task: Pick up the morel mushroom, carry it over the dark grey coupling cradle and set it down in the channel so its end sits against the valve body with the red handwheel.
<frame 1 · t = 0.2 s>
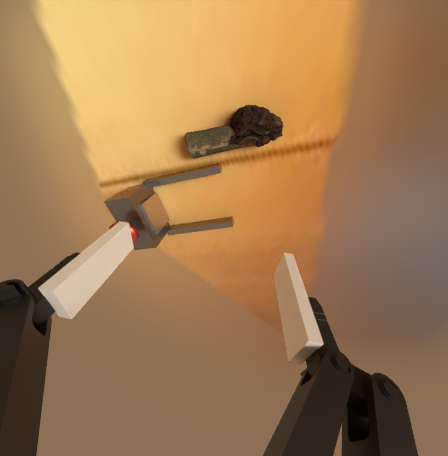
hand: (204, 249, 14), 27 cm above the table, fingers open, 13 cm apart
cradle: (193, 201, 42), on the table
morel mushroom: (233, 131, 34), on the table
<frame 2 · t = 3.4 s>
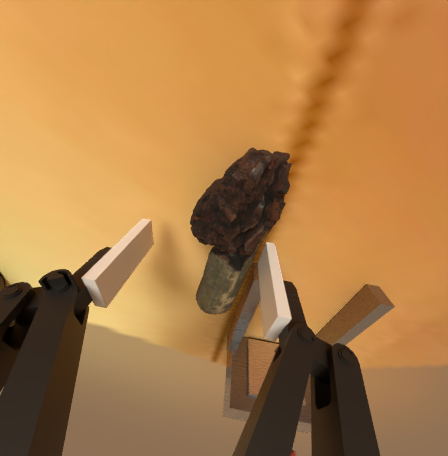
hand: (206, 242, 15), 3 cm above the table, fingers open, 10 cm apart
cradle: (288, 315, 25), on the table
morel mushroom: (228, 230, 18), on the table, touching gripper
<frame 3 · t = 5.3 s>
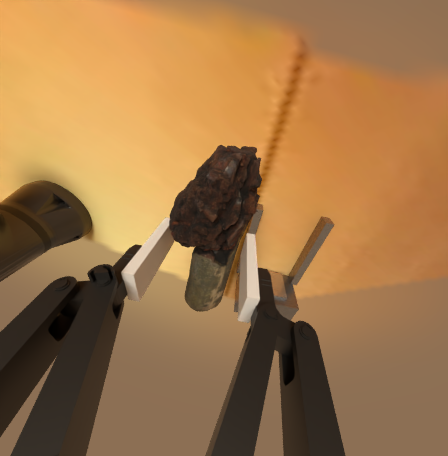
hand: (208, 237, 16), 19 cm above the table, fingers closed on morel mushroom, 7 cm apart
cradle: (277, 244, 39), on the table
morel mushroom: (207, 227, 18), point 17 cm above the table, touching gripper
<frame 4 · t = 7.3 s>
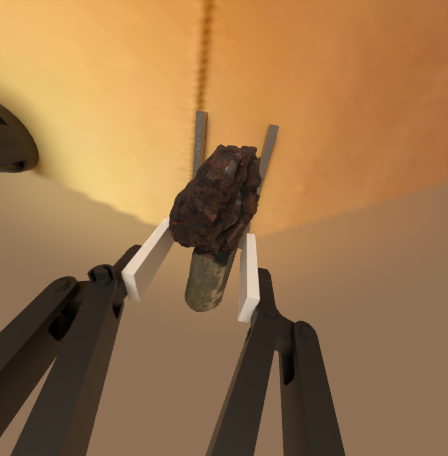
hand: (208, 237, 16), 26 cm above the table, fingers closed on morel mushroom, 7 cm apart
cradle: (230, 166, 37), on the table
morel mushroom: (207, 227, 18), point 23 cm above the table, touching gripper
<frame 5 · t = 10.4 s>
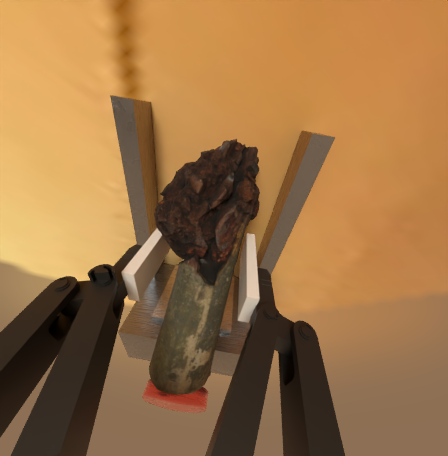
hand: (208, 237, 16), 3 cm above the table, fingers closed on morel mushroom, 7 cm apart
cradle: (212, 215, 18), on the table
morel mushroom: (206, 253, 16), point 4 cm above the table, touching cradle, gripper
when the fingers open (3 cm above the table, at t = 11.2 s): morel mushroom stays where it is, resting on cradle.
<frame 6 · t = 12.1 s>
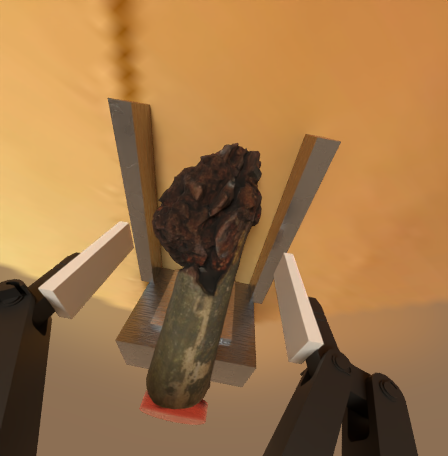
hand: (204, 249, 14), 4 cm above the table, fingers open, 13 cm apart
cradle: (213, 219, 18), on the table
morel mushroom: (206, 260, 15), point 4 cm above the table, touching cradle
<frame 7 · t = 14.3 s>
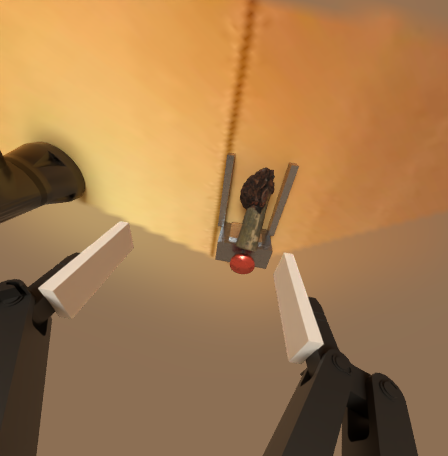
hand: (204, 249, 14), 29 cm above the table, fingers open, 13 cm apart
cradle: (253, 196, 42), on the table
morel mushroom: (252, 209, 39), point 4 cm above the table, touching cradle
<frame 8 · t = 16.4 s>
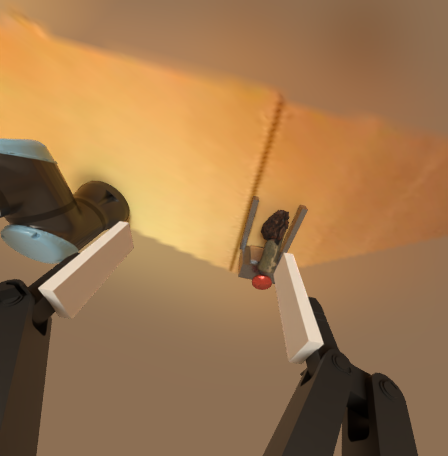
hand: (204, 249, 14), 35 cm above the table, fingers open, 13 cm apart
cradle: (269, 226, 53), on the table
morel mushroom: (270, 239, 50), point 4 cm above the table, touching cradle
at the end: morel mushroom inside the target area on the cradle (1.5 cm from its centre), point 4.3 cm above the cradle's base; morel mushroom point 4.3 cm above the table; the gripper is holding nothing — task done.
